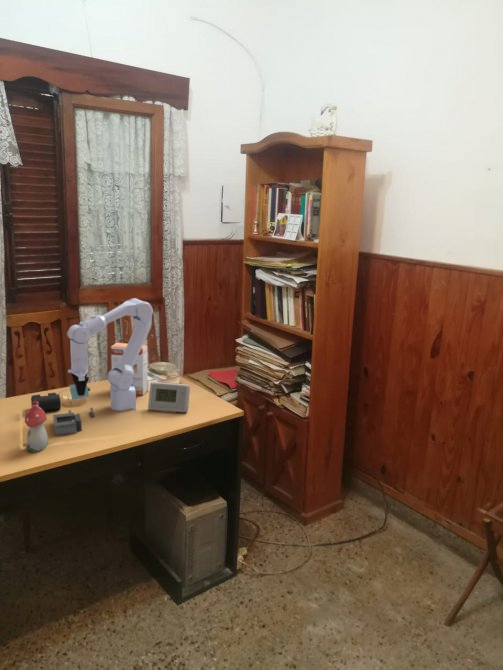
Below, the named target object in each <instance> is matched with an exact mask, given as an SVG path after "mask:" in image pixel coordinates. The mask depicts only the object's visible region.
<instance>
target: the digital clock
mask: <svg viewBox="0 0 503 670" xmlns="http://www.w3.org/2000/svg"><path fill="white" fill-rule="evenodd" d="M149 386H150V387H149V393H148V404H147V408H148V410H150V411H157V412H164V411H168V412H167V413H176V412H179V413H187V412H188V411H189V406H190V405H189V404H190V394H191V393H190V392H191V386H190V384H187V383H186V384H185V383H177V382H165V381H164V382H163V381H161V382H160V381H159V382H157V381H152V382H150V384H149Z"/></svg>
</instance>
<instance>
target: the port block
mask: <svg viewBox="0 0 503 670" xmlns="http://www.w3.org/2000/svg"><path fill="white" fill-rule="evenodd" d="M52 416H53V417H52V418H53V420H52V421H53V431H54V436H55V437H56V436H57V437H58V436H64V435H73V434H77V433H78V432H81V431H83V427H82V426H83V424H82V423H83V422H82V420H81V414H80V413H77V414H75V413H74V412H71V413H69V412H66V413H60V414H58V413H57V414H53V415H52Z"/></svg>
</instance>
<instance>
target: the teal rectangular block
mask: <svg viewBox="0 0 503 670" xmlns="http://www.w3.org/2000/svg"><path fill="white" fill-rule="evenodd" d="M68 386H69V390H70V391H69V392H70V396H71V397H70V398H71V400H73V401H74V400H79V399H81V398H82V399H83V398H86V397H87V398H88V397H89V396H90V394H89V393H90V392H91V387H89V386H88V383H87V384H86V389H85V394H84V395H82V396H78V393H77V388H76V385H75V383H74V384H69V385H68Z"/></svg>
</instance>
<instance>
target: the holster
mask: <svg viewBox="0 0 503 670" xmlns="http://www.w3.org/2000/svg"><path fill="white" fill-rule="evenodd" d="M89 410H90V411H89V412H90V415H91V418H95V412H94V411H95V410H94V408H93V407H90V408H89ZM68 413H72V410H71V409H68Z"/></svg>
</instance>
